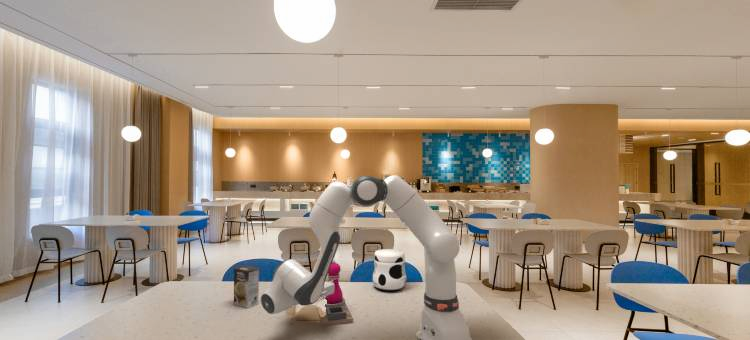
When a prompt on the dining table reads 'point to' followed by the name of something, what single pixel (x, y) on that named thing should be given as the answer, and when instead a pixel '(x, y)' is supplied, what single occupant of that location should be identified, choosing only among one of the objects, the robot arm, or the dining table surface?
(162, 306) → the dining table surface
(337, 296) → the pepper mill
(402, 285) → the milk container
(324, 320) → the caddy board
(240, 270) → the coffee box
